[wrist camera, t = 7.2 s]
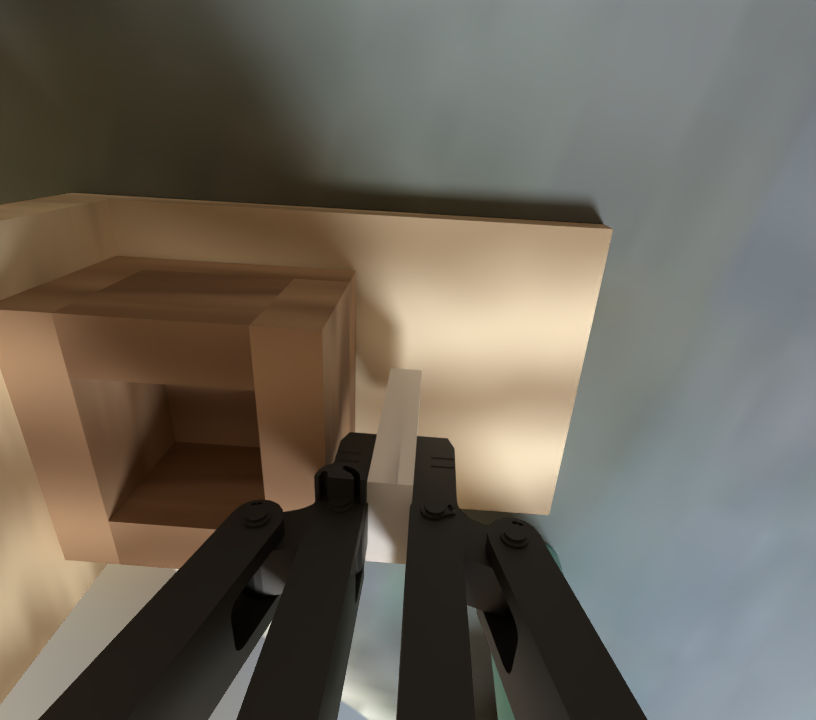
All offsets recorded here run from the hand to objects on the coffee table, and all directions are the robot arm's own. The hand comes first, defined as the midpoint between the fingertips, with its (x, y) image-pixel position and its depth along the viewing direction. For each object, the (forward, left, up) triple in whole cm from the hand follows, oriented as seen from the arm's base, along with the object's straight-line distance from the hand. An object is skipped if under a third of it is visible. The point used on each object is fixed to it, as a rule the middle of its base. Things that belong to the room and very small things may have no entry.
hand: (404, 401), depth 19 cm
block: (0, -7, -1) cm, 7 cm away
